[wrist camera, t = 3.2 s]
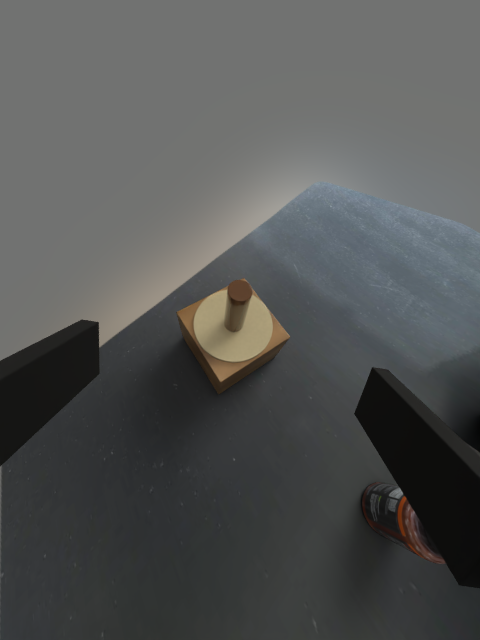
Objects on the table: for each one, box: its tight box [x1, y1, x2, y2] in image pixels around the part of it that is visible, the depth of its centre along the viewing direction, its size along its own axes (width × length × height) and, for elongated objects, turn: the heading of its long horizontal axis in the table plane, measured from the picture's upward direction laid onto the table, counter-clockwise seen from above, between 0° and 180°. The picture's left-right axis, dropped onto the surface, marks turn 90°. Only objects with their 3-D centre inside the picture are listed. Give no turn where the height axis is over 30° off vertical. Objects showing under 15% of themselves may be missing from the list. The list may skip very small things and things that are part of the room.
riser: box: [176, 278, 290, 394], centre depth 37 cm, size 11×11×9 cm
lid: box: [193, 280, 273, 363], centre depth 29 cm, size 10×10×8 cm
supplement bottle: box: [362, 482, 445, 564], centre depth 28 cm, size 6×6×11 cm
